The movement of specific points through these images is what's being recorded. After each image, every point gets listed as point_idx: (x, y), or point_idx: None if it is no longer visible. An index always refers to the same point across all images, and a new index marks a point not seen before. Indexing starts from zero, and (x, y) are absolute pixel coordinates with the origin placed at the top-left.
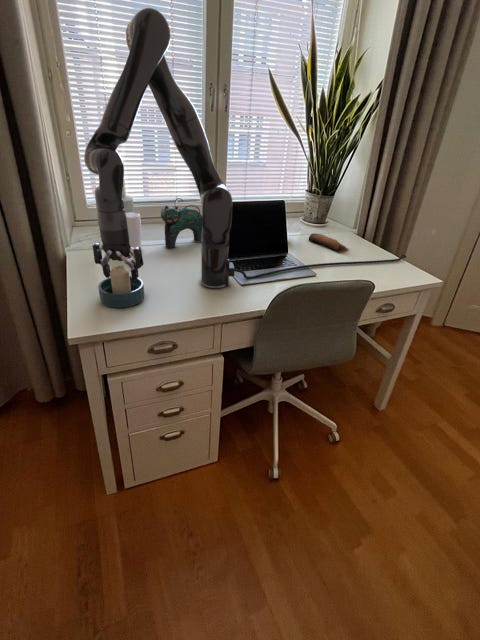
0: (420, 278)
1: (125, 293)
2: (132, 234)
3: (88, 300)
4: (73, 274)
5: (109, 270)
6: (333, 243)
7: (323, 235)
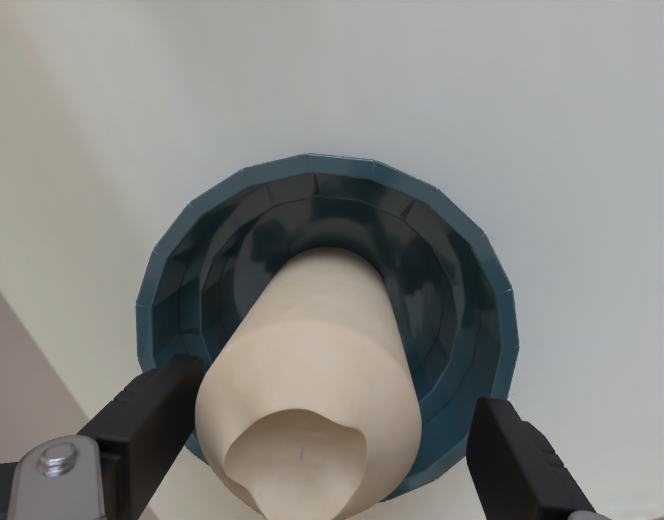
0: None
1: (408, 486)
2: None
3: (135, 349)
4: None
5: (173, 406)
6: None
7: None
